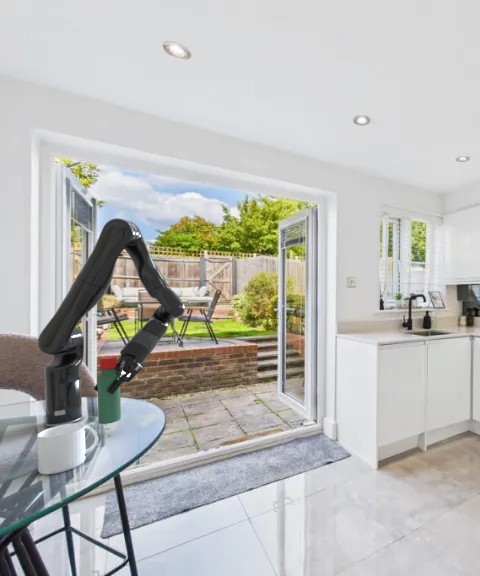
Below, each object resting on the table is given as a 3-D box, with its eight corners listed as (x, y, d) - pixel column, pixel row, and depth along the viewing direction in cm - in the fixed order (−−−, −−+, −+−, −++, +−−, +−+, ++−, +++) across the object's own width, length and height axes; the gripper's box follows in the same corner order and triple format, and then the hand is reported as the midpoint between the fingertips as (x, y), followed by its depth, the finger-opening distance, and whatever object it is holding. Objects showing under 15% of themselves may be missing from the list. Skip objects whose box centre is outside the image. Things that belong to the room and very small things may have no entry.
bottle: (97, 420, 111) (95, 359, 110) (119, 415, 115) (117, 356, 114) (99, 425, 107) (97, 362, 106) (122, 420, 111) (120, 359, 110)
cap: (99, 368, 110) (99, 357, 110) (115, 365, 113) (115, 355, 113) (101, 370, 108) (100, 359, 108) (117, 367, 110) (116, 357, 110)
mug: (39, 479, 85) (38, 440, 84) (37, 466, 91) (36, 430, 91) (102, 460, 93) (101, 425, 93) (96, 449, 100) (95, 417, 99)
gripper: (118, 339, 120) (78, 383, 109) (146, 341, 115) (108, 387, 104) (134, 351, 125) (97, 395, 114) (162, 354, 120) (127, 400, 109)
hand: (102, 391), depth 109 cm, fingers closed on bottle, 5 cm apart
